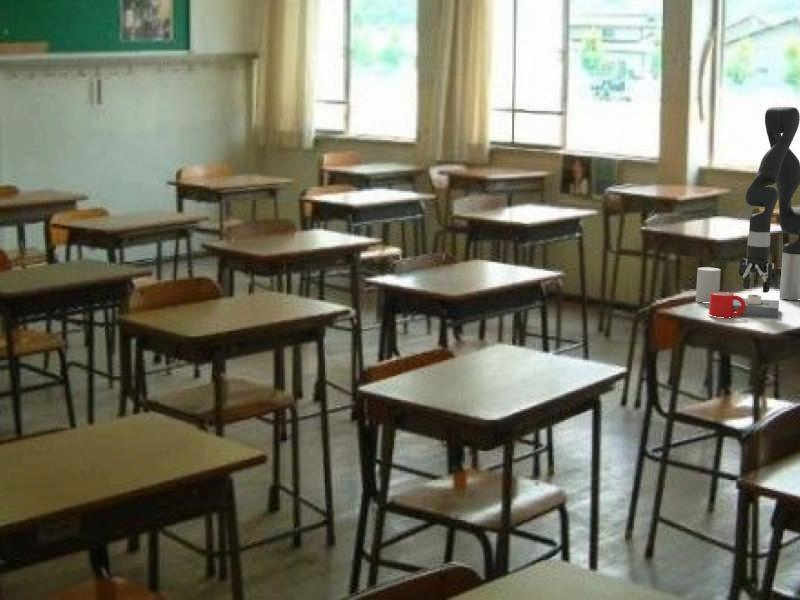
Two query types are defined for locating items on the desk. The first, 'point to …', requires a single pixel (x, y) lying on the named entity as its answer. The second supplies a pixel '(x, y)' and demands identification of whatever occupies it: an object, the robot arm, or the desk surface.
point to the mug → (724, 304)
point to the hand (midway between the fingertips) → (755, 290)
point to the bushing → (754, 299)
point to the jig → (758, 308)
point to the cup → (707, 283)
